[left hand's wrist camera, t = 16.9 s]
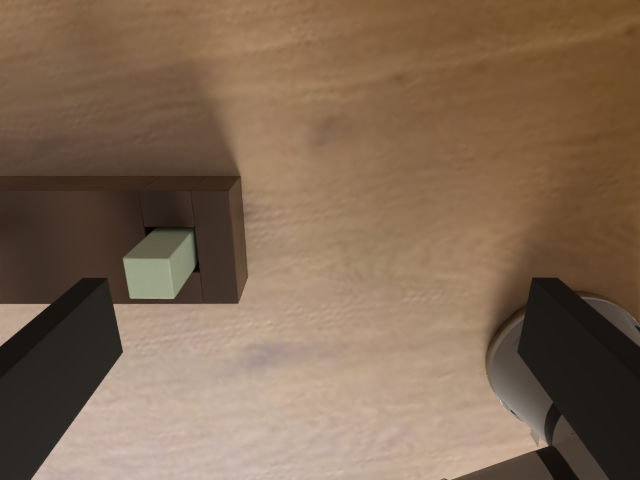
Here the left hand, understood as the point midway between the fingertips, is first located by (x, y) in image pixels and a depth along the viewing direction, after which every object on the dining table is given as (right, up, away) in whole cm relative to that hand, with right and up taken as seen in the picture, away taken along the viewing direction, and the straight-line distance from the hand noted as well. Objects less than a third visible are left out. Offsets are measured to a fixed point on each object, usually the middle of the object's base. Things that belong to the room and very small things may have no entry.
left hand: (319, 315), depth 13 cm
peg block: (-20, +3, +25) cm, 32 cm away
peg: (-12, +3, +25) cm, 28 cm away
